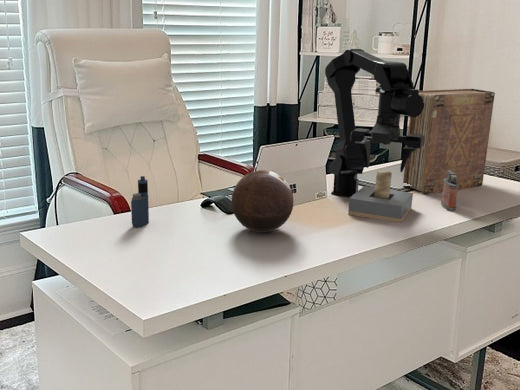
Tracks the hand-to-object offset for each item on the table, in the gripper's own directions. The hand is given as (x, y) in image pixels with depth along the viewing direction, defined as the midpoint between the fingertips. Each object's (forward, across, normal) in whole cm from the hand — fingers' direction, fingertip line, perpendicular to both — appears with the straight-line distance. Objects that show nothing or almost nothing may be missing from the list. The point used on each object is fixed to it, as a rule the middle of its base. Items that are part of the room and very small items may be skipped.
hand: (384, 169), depth 165 cm
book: (+12, +11, +36) cm, 40 cm away
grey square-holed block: (+12, 0, 0) cm, 12 cm away
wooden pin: (+11, 0, 0) cm, 11 cm away
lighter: (+12, +16, +14) cm, 24 cm away
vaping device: (+12, -50, -41) cm, 66 cm away
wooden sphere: (+12, -22, -30) cm, 39 cm away
